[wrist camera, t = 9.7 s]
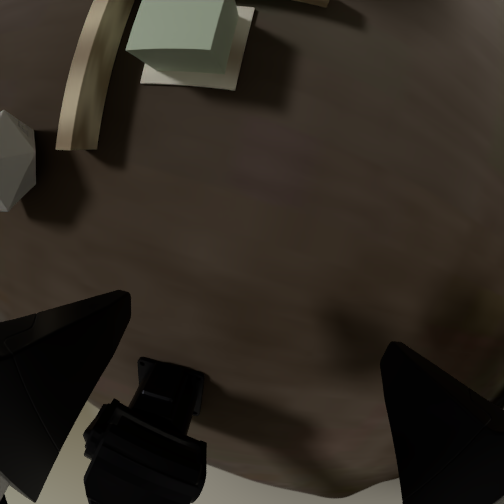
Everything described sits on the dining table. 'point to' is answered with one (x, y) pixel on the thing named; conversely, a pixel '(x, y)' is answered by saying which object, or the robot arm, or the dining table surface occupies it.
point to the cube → (184, 34)
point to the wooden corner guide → (101, 64)
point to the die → (15, 160)
